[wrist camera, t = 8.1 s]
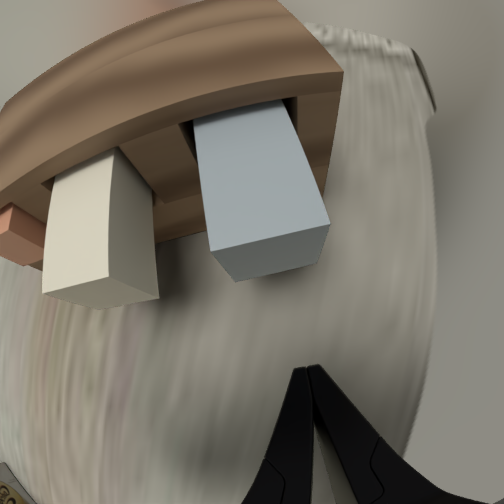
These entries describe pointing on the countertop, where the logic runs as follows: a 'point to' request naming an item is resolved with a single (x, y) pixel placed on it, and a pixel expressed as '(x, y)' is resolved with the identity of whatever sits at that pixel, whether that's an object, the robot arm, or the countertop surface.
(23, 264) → the key terracotta
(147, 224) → the key ivory
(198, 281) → the countertop surface
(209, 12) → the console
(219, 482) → the countertop surface
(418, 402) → the countertop surface
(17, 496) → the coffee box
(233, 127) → the key slate
